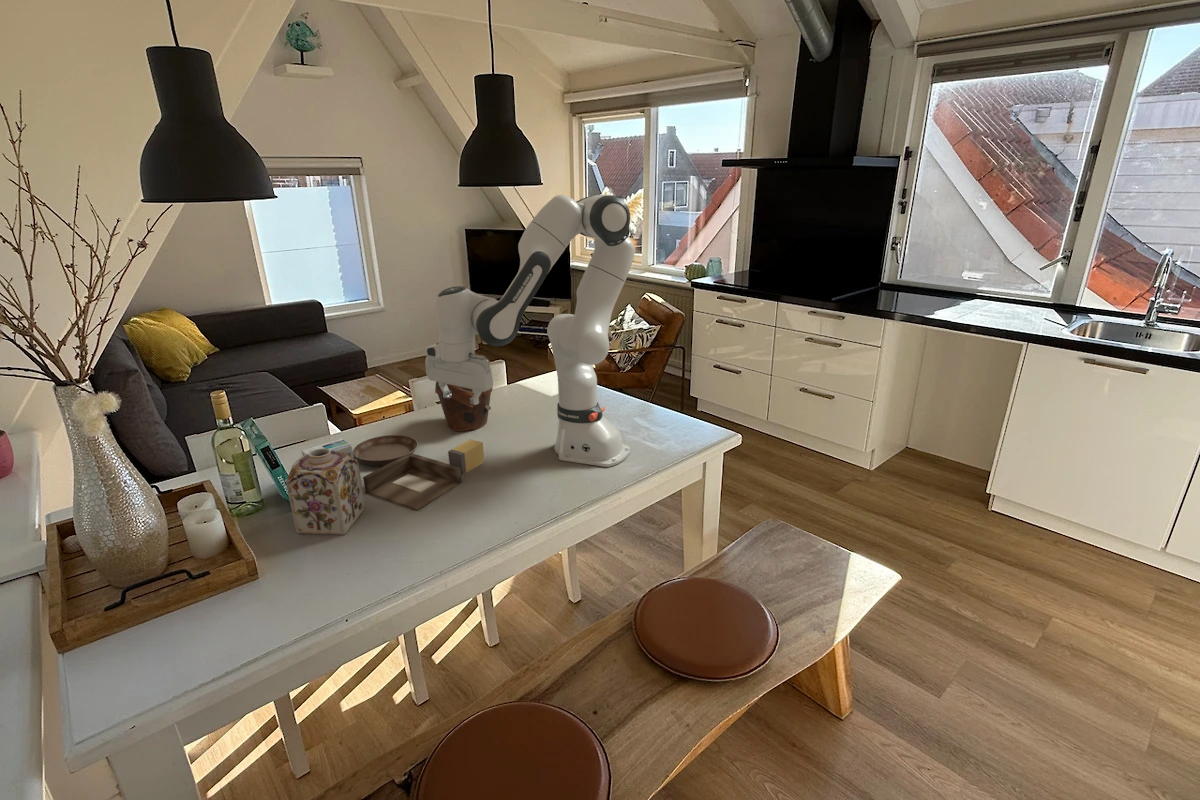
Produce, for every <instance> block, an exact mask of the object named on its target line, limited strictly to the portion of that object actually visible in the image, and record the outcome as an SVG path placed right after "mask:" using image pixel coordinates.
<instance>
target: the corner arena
mask: <svg viewBox="0 0 1200 800" xmlns="http://www.w3.org/2000/svg"><path fill="white" fill-rule="evenodd" d="M362 479H363V485H364V491H365V493H364V494H368V495H371V496H374V497H377V498H380V499H383V500H385V501H388V502H390V503H394V504H396V505H400V506H402V507H405V508H408V509H410V510H411V509H412V510H414V511H419V510H421V509H422V508H424V507H426V506H427V505H429V504H431V503H432V502H434V501H435V500H437V499H438V498H439V497H442V496H444V495H445V494H447V493H448V492H450V491H451V490H453V489H455V488H456V487H457V486H459V485H461V484H462V483H463V481H462V475H461V468H460V467H457V466H454V465H450V464H449V463H446V462H443V461H440V460H437V459H432V458H430V457H426V456H422V455H419V454H416V453H409V454H407V455H405V456H403V457H401V458H399V459H397V460H395V461H393V462H391V463H389V464H387V465H385V466H380V468H378V469H375V470H374V471H372V472H370V473H368V474H366V475H365V476H363V477H362Z"/></svg>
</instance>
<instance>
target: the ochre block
mask: <svg viewBox="0 0 1200 800" xmlns="http://www.w3.org/2000/svg"><path fill="white" fill-rule="evenodd" d="M447 454H448V464H450V465H454V466H457V467H460V468H461V476H463V475H465V474H467V473H469V472H470V471H472V470H474V469H475V468H476V467H478V466H480V465H481V464H483V463H484V462H485V455H484V454H485V452H484V443H483V441H480V440H479V441H478V440H475V439H471V438H470V439H468V440H466V441H464V442H463V443H461V444H459V445H457V446H454V448H452V449H449V450H448V451H447Z"/></svg>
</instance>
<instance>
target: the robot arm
mask: <svg viewBox="0 0 1200 800" xmlns="http://www.w3.org/2000/svg"><path fill="white" fill-rule="evenodd" d="M630 212H631V211H630V208H629V206H628V205H627V203H626V202H625V201H624V200H623V199H621V198H620V197H618V196H615V195H611V194H610V195H609V194H597V195H596V194H595V195H593V196H585V197H583V198H580V199H579V200H577V201H576V200H575V199H573V198H572V197H570V196H569V195H564V194H557V195H555V196H553V197H551V199H550V200H549V201H548V202H547V203H546V204H544V206H542V208H541V209H540V210H539V211H538V212H537V213H536V215H535V216H534V217H533V218H532V220H531V221H530V223H528V225H527V227H526V228H525V229H524V232H523V233H522V236H521V237H520V239H519V242H518V245H517V249H518V254H519V259H520V260H519V268H518V272H517V274H516V275H515V277H514V278H513V280H512V281H511V283H510V285H509V286H508V288H507V289H506V290H505V293H504V294H503V295H502V297H501V298H500V299H499V300H498V299H496V298H493V297H490V296H485V295H481V294H479V293H476V292H474V291H472V290H470V289H468V287H467V286H463V285H462V286H461V285H459V286H451V287H448V288H445V289H443V290H441V291H440V292H439V293H438V295H437V298H436V302H435V303H436V305H435V307H436V309H435V310H436V311H435V312H436V315H435V316H436V325H437V327H438V331H439V333H438V343H434V344H432V345H429V346H427V347H425V348H424V355H425V356H426V357H425V361H424V362H425V364H424V365H425V374H426V377H427V378H428V380H429V381H433V382H436V381H437V382H439V387H440V388H441V390H442V392H443V397H444V398H448V399H449V398H451V397H452V394H451V393H452V392H451V391H450V390H449V389H448V386H447V384H450V385H455V386H459V387H464V388H468V389H472V391H473V393H474V396H473V397H472V398H470V401H471V402H470V403H471V404H473V405H477V404H478V403H479V396H480V394H481V392H485V391H487V390H489V389H491V388H492V386H494V380H493V373H492V368H491V364H490V360H489V359H488V358H487V357H486V356H485V355H483V354H477V353H475V339H474V338H475V336H476V335H479V337H480V339H481V340H482V341H483V342H484V343H485V344H487V345H490V346H493V347H503V346H506V345H508V344H510V343H511V342H513V341H514V339H515V338H516V337H517V335H518V332H519V328H520V325H521V321H522V318H523V315H524V313H525V312H526V310H527V308H528V307H529V305H530V304H531V302H532V300H533V299H534V297H535V295H536V294H537V293H538V291H539V289H540V287H541V286H542V285H543V283H544V281H545V279H546V278H547V275H548V274H549V273H550V271H551V270H552V268H553V266H554V265H555V264H556V263H557V261H558V260H559V258H560V257H561V255H562V254H564V252H565V251H566V248H567V247H568V246H569V244H570V243H571V241H572V240H573V239H574V238H575V237H576V236H577V235H579V234H580V235H581V236H584V237H588V238H591V239H593V241H594V248H593V249H594V250H593V255H592V256H591V258H590V260H589V262H588V265H587V267H586V268H585V271H584V272H583V275H582V277H581V279H580V282H579V283H578V287H577V288H576V303H575V310H574V314H571V313H560V314H556V315H555V316H554V317H552V319H550V321H549V323H548V326H547V331H546V333H547V336H548V337H547V338H548V339H549V342H550V347H551V351H552V357H553V360H554V365H555V370H556V374H557V375H556V376H557V390H558V391H557V392H558V402H557V405H556V406H557V409H556V412H557V420H558V424H557V425H558V426H557V435H556V441H555V444H554V452H555V453H556V454H557V455H558V458H559V459H558V460H560V461H564V462H570V463H571V462H572V463H575V464H576V463H578V464H583V465H590V466H591V465H592V466H597V467H605V468H610V467H614V466H617V465H618V464H620V463H623V461H624V460H626V459H627V458H628V456H629V455H630V453H631V447H630V446H629V445H627V444H626V443H625V444H624V443H623V436H622V434H621V431H620V430H619V429H618V428H617V427H615V426H614V425H613V424H612V423H611V422H610V421H609V420H608V419H606V417H605V416H604V415H603V412H605V411H606V409H605V408H606V406H603V407H600V404H599V402H598V378H597V377H598V376H597V374H596V372H595V369H594V367H593V366H595V365H597V364H600V363H602V361H604V360H605V359H606V357H607V356H608V354H609V351H610V340H609V329H610V323H611V318H612V314H613V311H614V307H615V305H616V303H617V300H618V298H619V296H620V294H621V291H622V289H623V287H624V285H625V282H626V280H627V278H628V276H629V273H630V271H631V267H632V264H633V260H634V257H635V253H636V248H635V244H634V242H633V241H632V240H631V238H629V236H630V223H631V213H630ZM492 389H493V388H492Z"/></svg>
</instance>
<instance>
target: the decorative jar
mask: <svg viewBox="0 0 1200 800" xmlns="http://www.w3.org/2000/svg"><path fill="white" fill-rule="evenodd" d="M288 473H289V474H288V476H287V479H286V480H285V482H286V483H285V484H286V489H287V494H288V499H289V506H290V509H291V515H292V519H293V523H294V527H295V531H296V533H297V534H305V535H306V534H307V535H335V536H336V535H338V536H339V535H341V536H345V535H346V534H347V533H348V532H349V530H350V529H351V528H352V526H353V525H354V523H355V522H356V521H357V520H358V519H359V517H360V516H361V515H362V513H364V511H365V510H366V503H365V496H364V489H363V483H362V477H361V471H360V466H359V461H358V459H356V458H355V457H353V458H352V457H351V456H350V455H348V454H346V453H344V452H342V451H330V450H329V449H324V448H323V449H316V450H313V451H311V452H309V454H308V455H305V456H303V455H302V456H300V458H298V459H297V460H296V461H295V462H294V463H293V464H292V466H291V469H290V472H288Z"/></svg>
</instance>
